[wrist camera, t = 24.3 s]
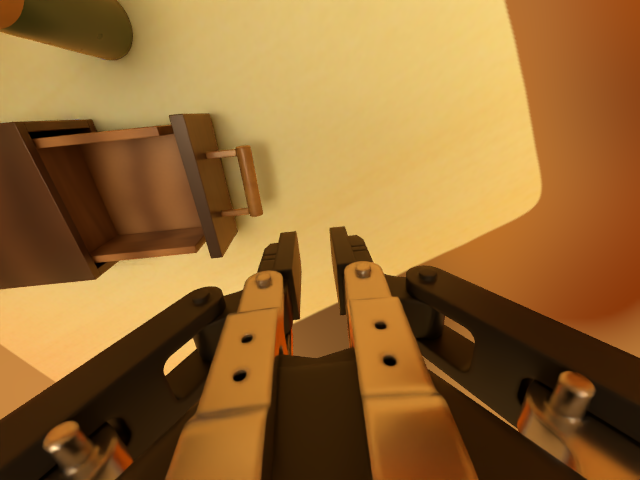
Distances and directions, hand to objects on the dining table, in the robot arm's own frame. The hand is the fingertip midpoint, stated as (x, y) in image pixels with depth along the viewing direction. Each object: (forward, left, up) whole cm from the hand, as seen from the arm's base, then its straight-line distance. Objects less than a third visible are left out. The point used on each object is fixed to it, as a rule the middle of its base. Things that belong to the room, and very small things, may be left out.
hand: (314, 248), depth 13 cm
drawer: (+9, -12, -20) cm, 25 cm away
